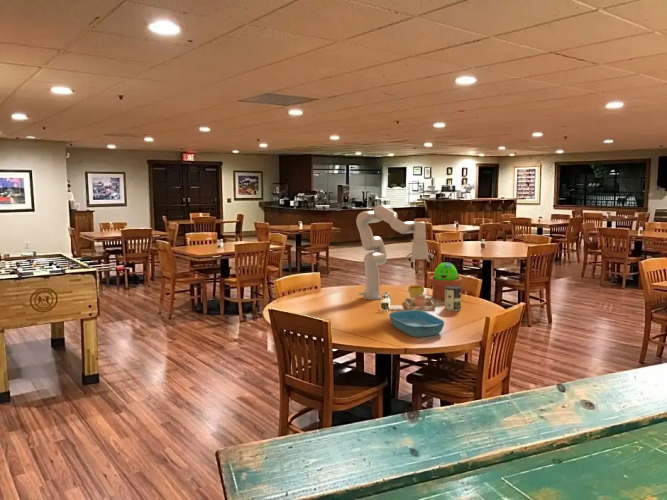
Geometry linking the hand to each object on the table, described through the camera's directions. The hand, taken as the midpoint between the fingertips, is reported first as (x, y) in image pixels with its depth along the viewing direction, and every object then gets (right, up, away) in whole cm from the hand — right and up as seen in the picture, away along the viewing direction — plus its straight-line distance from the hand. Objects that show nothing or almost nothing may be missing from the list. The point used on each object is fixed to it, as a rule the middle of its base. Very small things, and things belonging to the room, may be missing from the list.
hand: (420, 268), depth 333 cm
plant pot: (0, -23, +20) cm, 30 cm away
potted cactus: (+22, -21, +29) cm, 43 cm away
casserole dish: (-10, -32, -46) cm, 57 cm away
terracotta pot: (0, -25, +1) cm, 25 cm away
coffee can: (+20, -26, -3) cm, 33 cm away
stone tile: (-16, -25, 0) cm, 30 cm away
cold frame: (0, -25, +1) cm, 25 cm away
